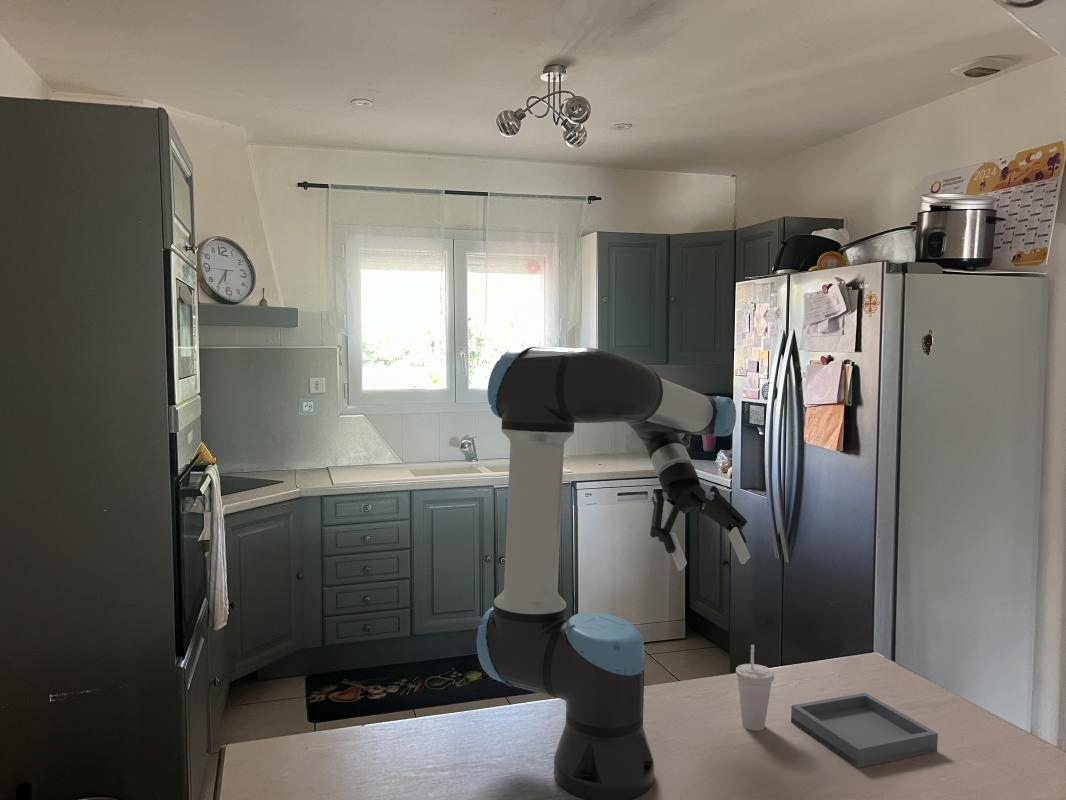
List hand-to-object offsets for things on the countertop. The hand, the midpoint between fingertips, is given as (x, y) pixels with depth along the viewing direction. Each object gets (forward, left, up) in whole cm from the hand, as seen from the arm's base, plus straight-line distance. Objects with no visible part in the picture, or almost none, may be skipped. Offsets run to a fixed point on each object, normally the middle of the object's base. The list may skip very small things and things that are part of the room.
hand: (714, 563), depth 147 cm
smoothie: (0, -13, -25) cm, 28 cm away
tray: (+15, -22, -25) cm, 36 cm away
